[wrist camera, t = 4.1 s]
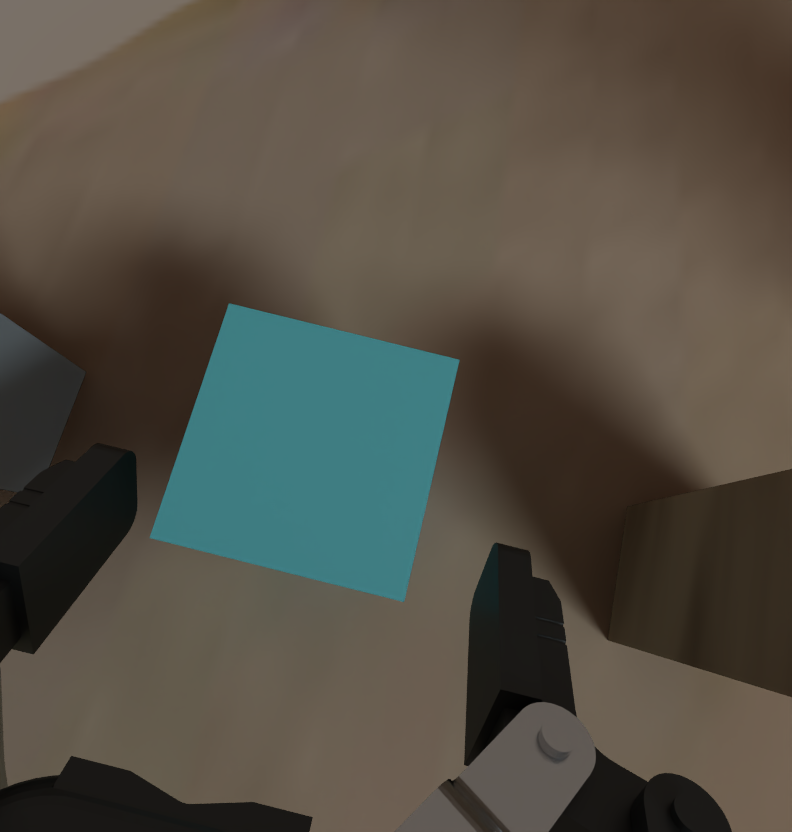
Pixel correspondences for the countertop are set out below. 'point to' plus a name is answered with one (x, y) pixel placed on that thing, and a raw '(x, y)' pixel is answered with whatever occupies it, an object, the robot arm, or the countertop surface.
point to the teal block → (310, 452)
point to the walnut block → (712, 580)
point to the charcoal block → (31, 403)
